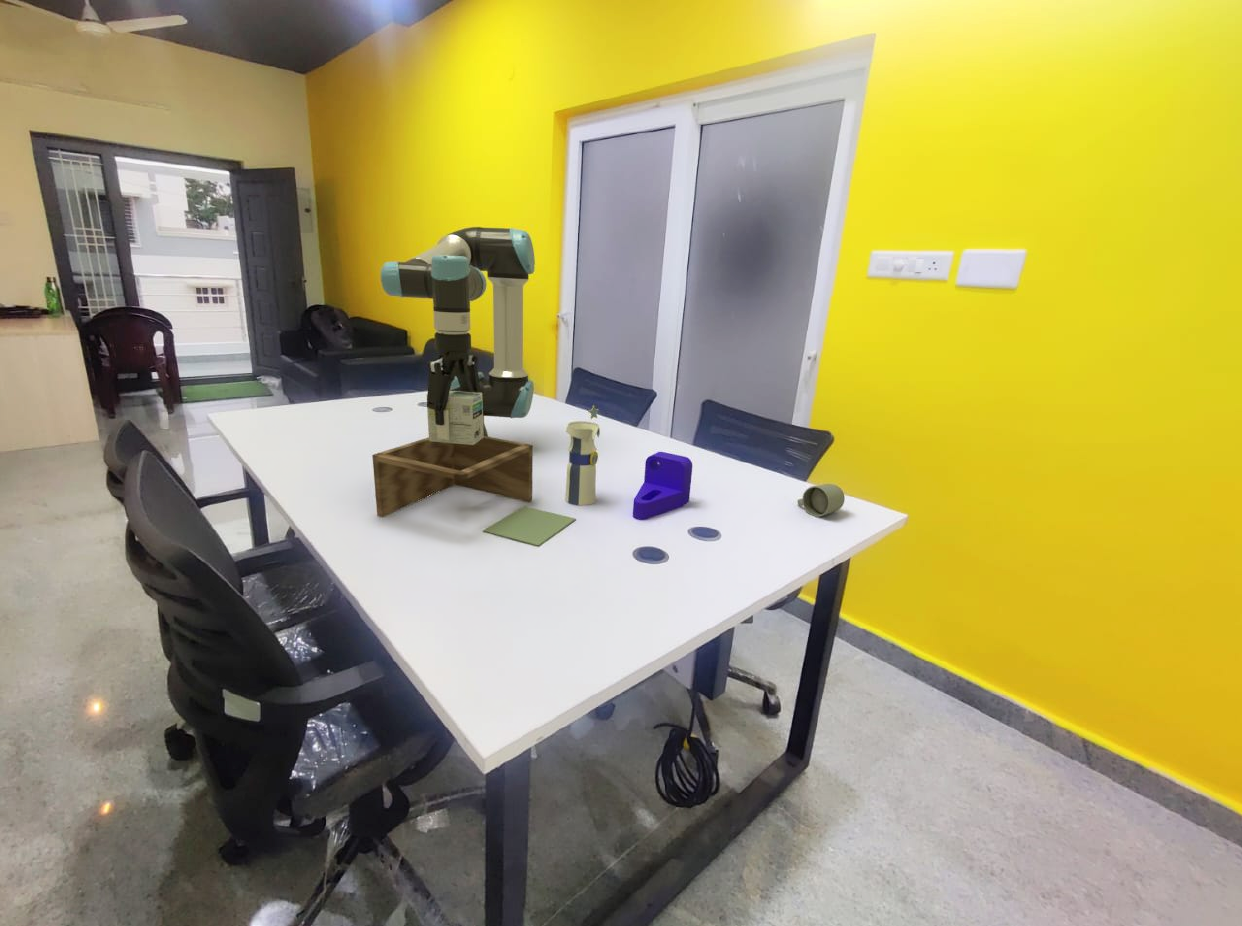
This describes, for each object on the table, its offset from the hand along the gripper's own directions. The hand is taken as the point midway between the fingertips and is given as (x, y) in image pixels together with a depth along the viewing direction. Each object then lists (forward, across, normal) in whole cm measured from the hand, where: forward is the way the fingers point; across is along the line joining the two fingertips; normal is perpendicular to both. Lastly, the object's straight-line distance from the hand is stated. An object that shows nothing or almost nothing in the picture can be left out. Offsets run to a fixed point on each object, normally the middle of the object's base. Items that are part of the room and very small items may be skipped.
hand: (456, 434), depth 131 cm
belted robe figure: (+18, +20, -22) cm, 35 cm away
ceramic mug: (+18, +45, -76) cm, 90 cm away
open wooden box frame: (+18, 0, 0) cm, 18 cm away
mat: (+18, 0, -20) cm, 27 cm away
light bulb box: (+2, 0, 0) cm, 2 cm away
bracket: (+18, +24, -40) cm, 50 cm away
